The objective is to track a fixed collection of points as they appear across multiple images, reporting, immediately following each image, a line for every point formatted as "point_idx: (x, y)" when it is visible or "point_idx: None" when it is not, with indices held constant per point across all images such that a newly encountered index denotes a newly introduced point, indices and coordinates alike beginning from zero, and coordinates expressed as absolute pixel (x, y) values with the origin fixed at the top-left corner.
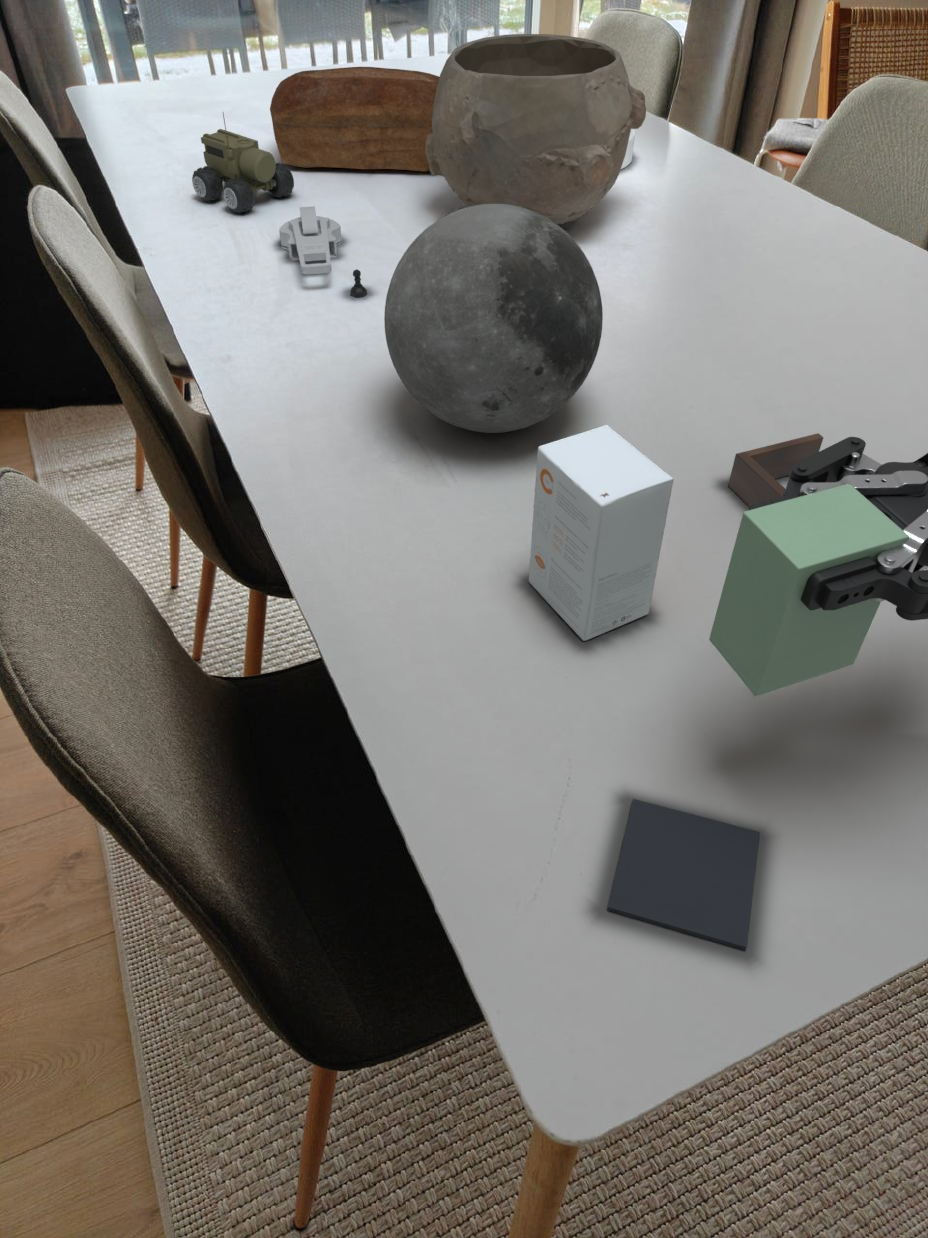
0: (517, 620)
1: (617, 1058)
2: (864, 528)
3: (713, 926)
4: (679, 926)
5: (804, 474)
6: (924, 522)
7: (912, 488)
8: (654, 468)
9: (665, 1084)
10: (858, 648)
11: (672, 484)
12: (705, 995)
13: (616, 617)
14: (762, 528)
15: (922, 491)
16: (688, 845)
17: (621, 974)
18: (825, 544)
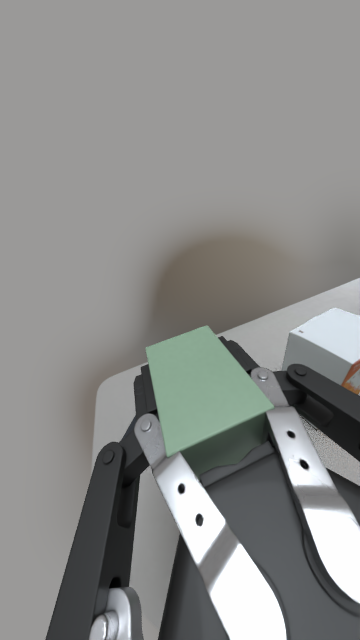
0: (280, 368)
1: (107, 396)
2: (184, 401)
3: (130, 430)
4: (134, 417)
5: (290, 373)
6: (194, 500)
7: (308, 533)
8: (357, 353)
9: (96, 408)
10: None
11: (350, 367)
12: (112, 425)
13: None
14: (188, 332)
15: (327, 581)
16: None
17: (127, 399)
18: (166, 365)
